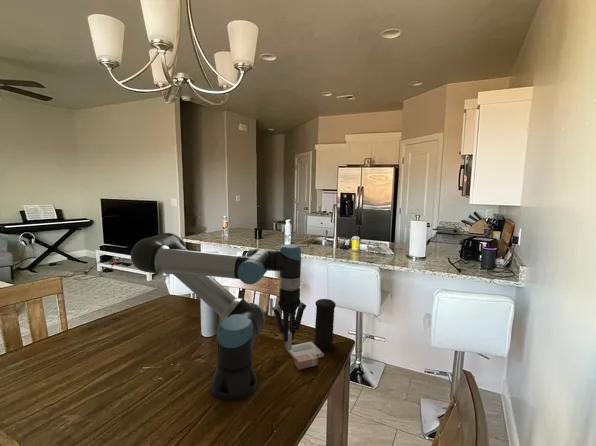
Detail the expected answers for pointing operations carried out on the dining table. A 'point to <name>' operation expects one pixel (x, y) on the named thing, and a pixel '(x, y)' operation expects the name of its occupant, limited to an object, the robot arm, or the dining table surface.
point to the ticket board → (305, 350)
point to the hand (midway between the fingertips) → (288, 348)
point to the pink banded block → (305, 361)
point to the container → (324, 323)
